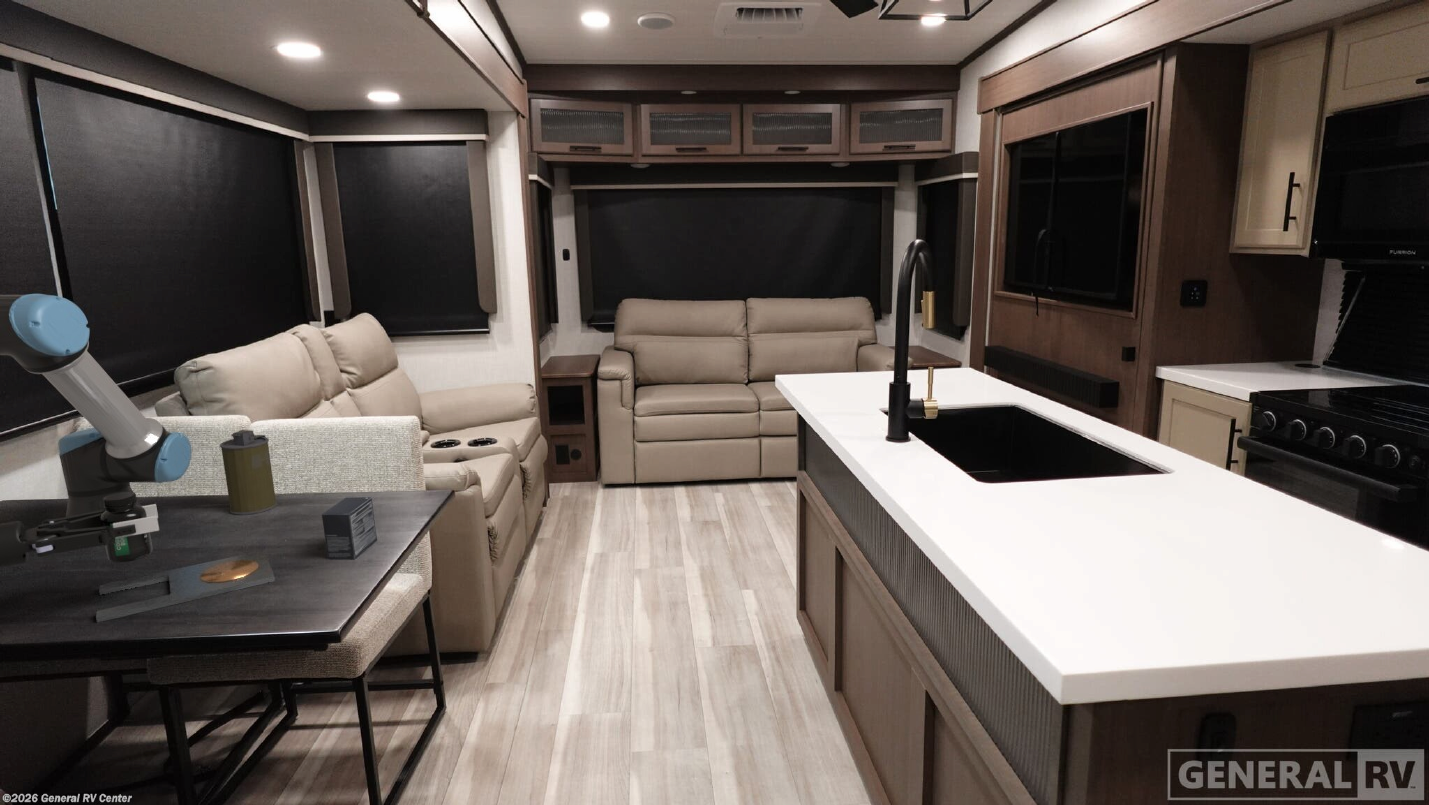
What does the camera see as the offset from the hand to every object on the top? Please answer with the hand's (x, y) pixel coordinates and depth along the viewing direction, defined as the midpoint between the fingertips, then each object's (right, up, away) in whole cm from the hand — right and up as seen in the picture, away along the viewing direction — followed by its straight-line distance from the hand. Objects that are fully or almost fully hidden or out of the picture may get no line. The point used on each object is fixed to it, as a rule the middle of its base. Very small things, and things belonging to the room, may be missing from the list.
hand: (157, 516), depth 146 cm
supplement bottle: (-4, -7, -1) cm, 9 cm away
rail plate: (+2, -14, +5) cm, 15 cm away
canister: (-10, -5, +48) cm, 49 cm away
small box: (+27, -11, +22) cm, 36 cm away
